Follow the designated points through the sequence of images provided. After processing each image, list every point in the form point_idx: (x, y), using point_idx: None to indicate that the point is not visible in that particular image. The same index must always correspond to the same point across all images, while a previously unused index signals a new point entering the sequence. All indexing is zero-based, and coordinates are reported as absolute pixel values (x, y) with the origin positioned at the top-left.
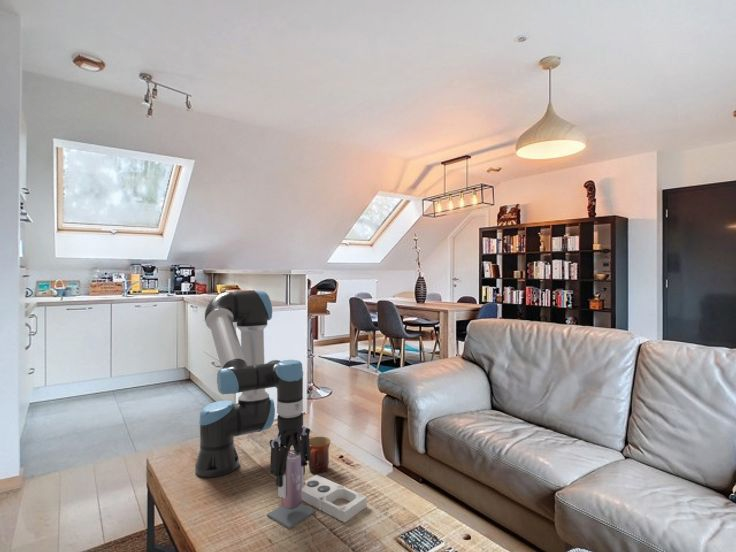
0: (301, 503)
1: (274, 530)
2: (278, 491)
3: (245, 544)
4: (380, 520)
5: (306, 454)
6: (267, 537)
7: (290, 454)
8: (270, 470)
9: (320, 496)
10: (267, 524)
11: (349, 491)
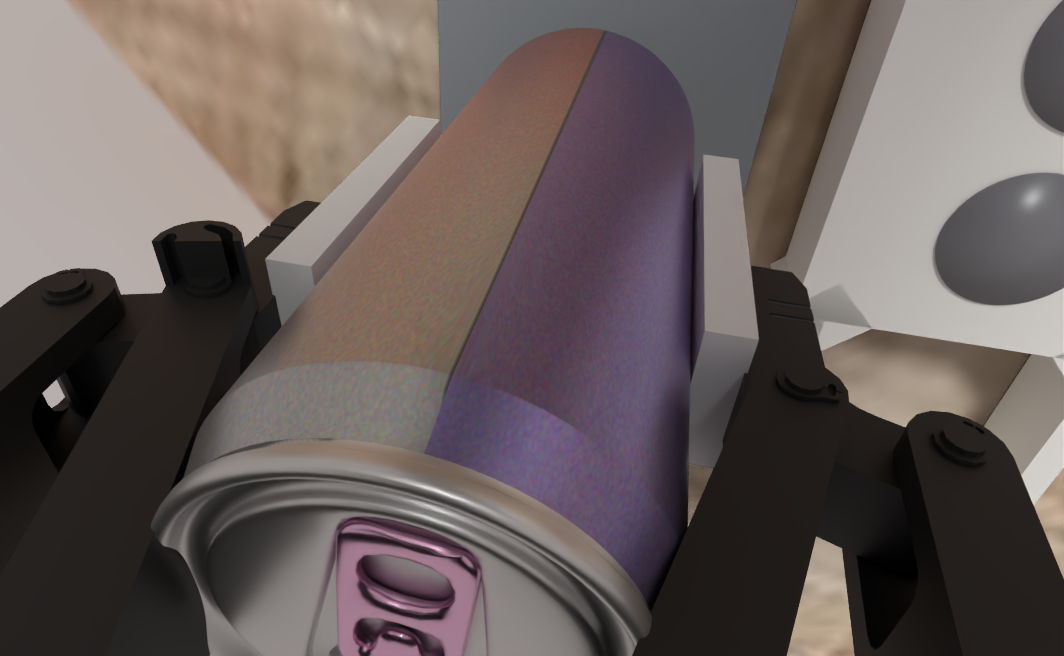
0: (772, 86)
1: (368, 129)
2: (390, 140)
3: (136, 62)
4: (830, 589)
5: (858, 645)
6: (290, 143)
7: (410, 614)
8: (2, 319)
9: (849, 290)
10: (371, 15)
11: (1036, 455)
